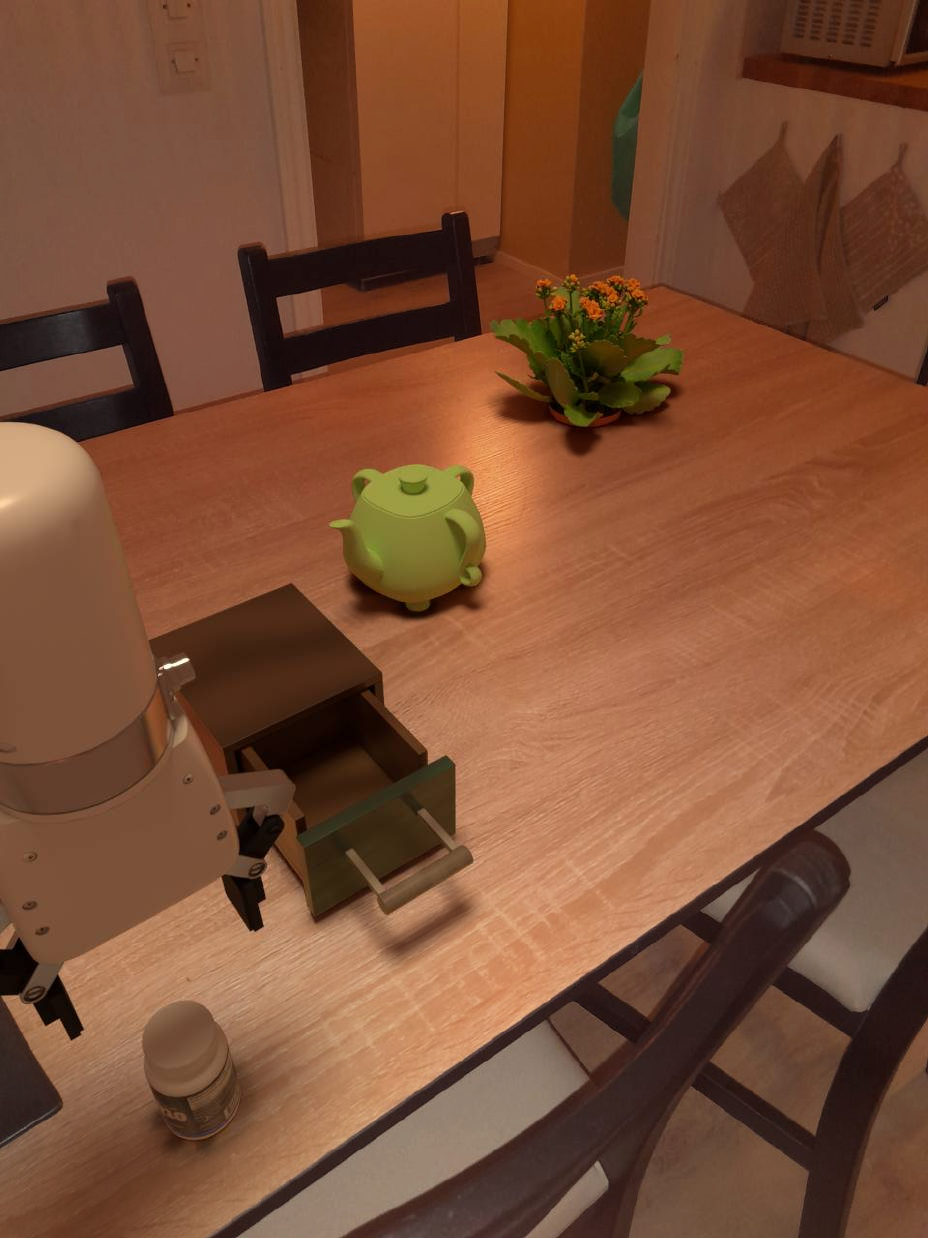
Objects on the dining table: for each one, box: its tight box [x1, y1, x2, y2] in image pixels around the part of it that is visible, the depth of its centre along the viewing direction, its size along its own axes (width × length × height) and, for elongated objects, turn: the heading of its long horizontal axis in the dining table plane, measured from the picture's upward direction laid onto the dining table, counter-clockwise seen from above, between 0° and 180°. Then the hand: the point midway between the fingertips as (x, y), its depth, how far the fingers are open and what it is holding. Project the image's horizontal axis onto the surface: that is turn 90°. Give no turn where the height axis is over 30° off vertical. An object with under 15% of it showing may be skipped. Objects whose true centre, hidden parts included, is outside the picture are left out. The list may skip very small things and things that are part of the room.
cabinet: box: [148, 582, 385, 826], centre depth 80 cm, size 15×14×10 cm
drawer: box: [234, 688, 474, 917], centre depth 71 cm, size 19×12×8 cm, turn 37°
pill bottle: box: [141, 999, 242, 1141], centre depth 57 cm, size 5×5×8 cm
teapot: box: [328, 463, 487, 612], centre depth 97 cm, size 16×14×13 cm
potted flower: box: [489, 273, 684, 428], centre depth 125 cm, size 25×24×18 cm
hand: (160, 961), depth 50 cm, fingers open, 9 cm apart
